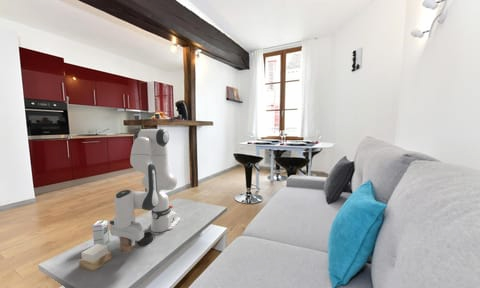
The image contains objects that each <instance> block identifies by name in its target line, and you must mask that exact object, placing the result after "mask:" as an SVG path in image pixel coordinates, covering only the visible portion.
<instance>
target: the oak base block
mask: <svg viewBox="0 0 480 288" xmlns="http://www.w3.org/2000/svg"><path fill="white" fill-rule="evenodd" d="M112 254H113V253H112V251H109V250H108V253H107V254H106V255H104V256H103V257H101V258H100V259H99V260H97V261H96V262H94V263H92V262H88V261H84V260H82V258H80V259H79V260H78V264H79V265H78V266H79V268H83V269H86V270H88V271H92V272H95V271H96V270H97V269H98V268H100V267H101V266H102V265H104V264H106V263H107V262H108V261H110V260H111V259H112V258H113V257H112Z"/></svg>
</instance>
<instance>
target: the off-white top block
mask: <svg viewBox="0 0 480 288" xmlns="http://www.w3.org/2000/svg"><path fill="white" fill-rule="evenodd" d="M108 251H109V246H108V245H101V244H95V245H94V244H93V245H92V246H91V247H89V248H87V249H85V250H84V251H82V252H81V259H82V260H84V261H88V262H92V263H94V262H96V261H97V260H99V259H100V258H101V257H103V256H104V255H106V254H107V253H108Z"/></svg>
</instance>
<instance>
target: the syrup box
mask: <svg viewBox="0 0 480 288" xmlns="http://www.w3.org/2000/svg"><path fill="white" fill-rule="evenodd" d="M108 224H109V221H108V219H107V220H106V219H103V220H97V221H96V222H95V223H94V224H93V225H91V226H92V228H91V229H92V235H93V237H92V238H93V246H94V245H95V244H101V245H106V246H108V244H109V242H110V236H109V235H110V233H109V232H110V231H109V225H108Z"/></svg>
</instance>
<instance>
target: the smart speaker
mask: <svg viewBox="0 0 480 288" xmlns="http://www.w3.org/2000/svg"><path fill="white" fill-rule="evenodd" d="M153 240H154V232H152V231H147V232H144V237H143V238H142V239H141V240H139V241H137V243H138V245H141V246H145V245H148V244H150V243H151V242H153Z"/></svg>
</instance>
